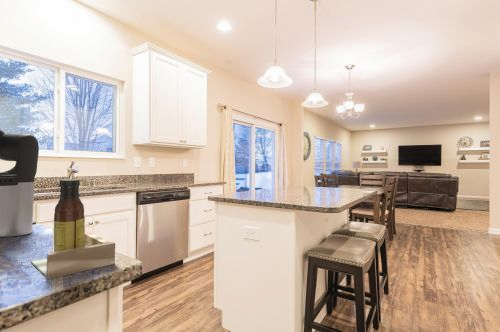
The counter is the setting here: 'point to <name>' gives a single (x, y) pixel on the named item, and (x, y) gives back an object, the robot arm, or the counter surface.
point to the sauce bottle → (69, 217)
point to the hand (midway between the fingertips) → (13, 178)
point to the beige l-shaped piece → (78, 258)
